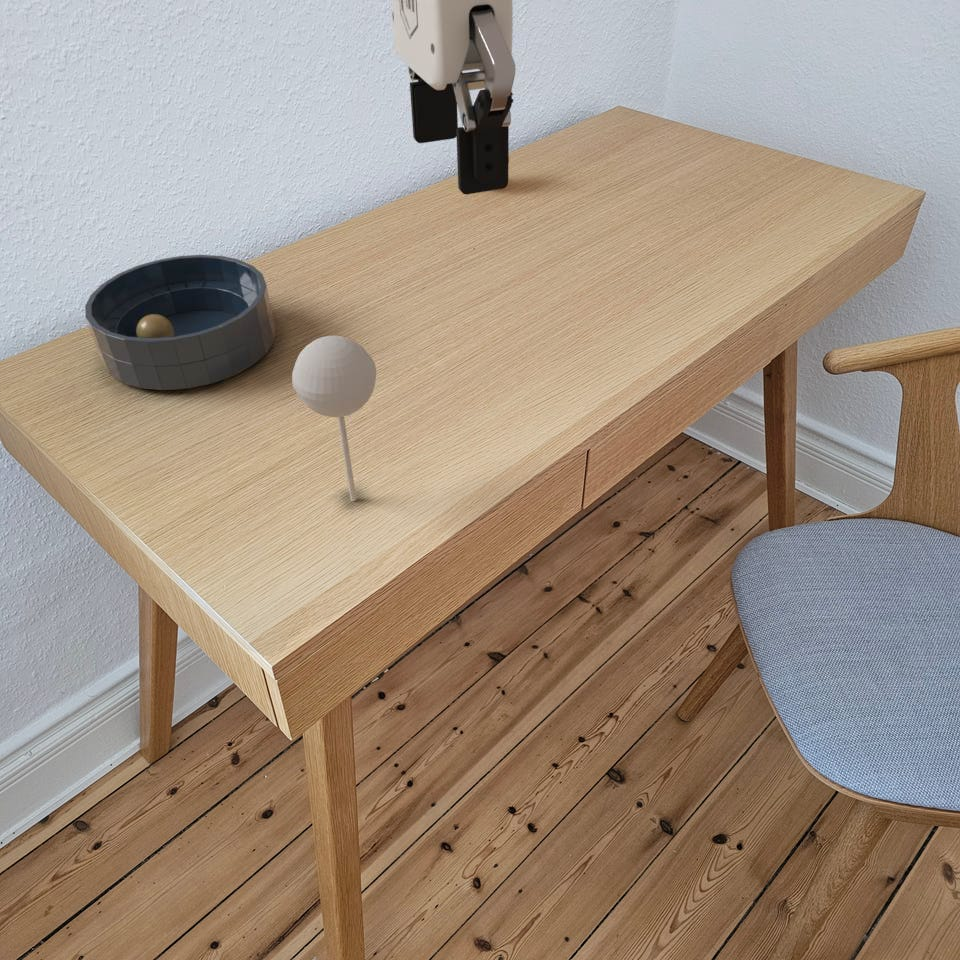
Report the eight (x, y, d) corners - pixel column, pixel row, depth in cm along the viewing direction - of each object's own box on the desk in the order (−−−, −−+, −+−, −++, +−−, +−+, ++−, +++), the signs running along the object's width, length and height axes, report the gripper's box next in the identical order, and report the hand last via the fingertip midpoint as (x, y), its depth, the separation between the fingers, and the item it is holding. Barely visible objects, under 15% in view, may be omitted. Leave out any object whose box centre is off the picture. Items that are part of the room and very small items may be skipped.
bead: (142, 360, 85) (132, 328, 82) (140, 342, 87) (130, 311, 85) (180, 352, 86) (170, 321, 83) (176, 335, 88) (167, 304, 86)
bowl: (107, 411, 79) (86, 356, 75) (101, 322, 91) (83, 271, 88) (290, 372, 84) (279, 319, 80) (261, 293, 96) (251, 243, 92)
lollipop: (355, 465, 73) (333, 311, 63) (405, 494, 70) (390, 336, 60) (300, 504, 69) (267, 346, 59) (351, 536, 66) (325, 375, 56)
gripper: (343, -159, 51) (372, 130, 63) (430, -130, 39) (446, 223, 50) (460, -165, 53) (467, 116, 65) (578, -140, 41) (561, 203, 52)
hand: (458, 163), depth 57 cm, fingers open, 9 cm apart
